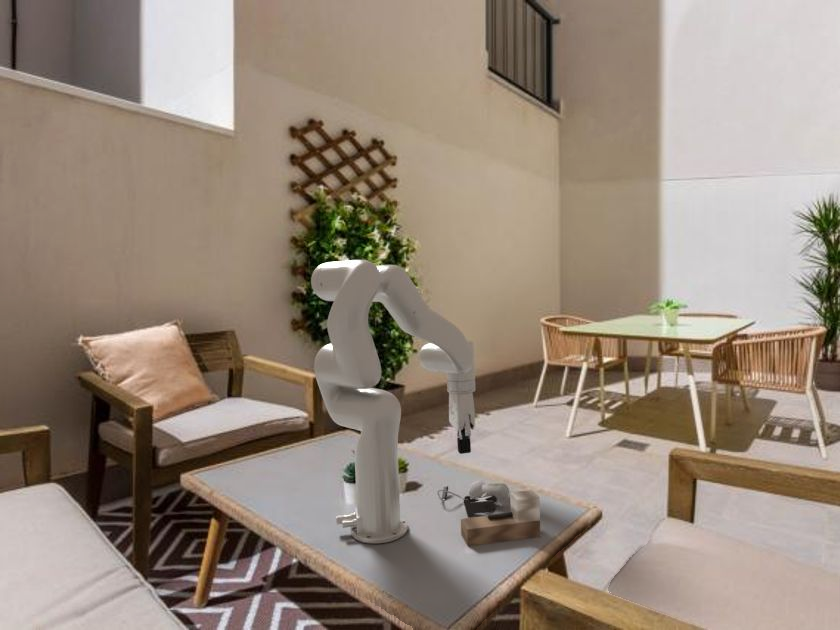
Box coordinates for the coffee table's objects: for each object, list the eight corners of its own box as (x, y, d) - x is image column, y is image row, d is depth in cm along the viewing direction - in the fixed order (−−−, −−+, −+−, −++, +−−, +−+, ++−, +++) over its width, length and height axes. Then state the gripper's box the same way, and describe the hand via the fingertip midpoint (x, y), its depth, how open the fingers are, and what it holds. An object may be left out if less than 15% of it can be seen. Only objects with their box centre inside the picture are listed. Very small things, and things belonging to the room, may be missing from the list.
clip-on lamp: (430, 519, 126) (495, 519, 116) (423, 494, 126) (488, 492, 116) (454, 497, 136) (515, 496, 126) (447, 474, 136) (508, 471, 125)
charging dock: (467, 546, 106) (466, 505, 106) (459, 531, 113) (458, 493, 112) (540, 536, 109) (539, 497, 109) (528, 522, 116) (527, 485, 115)
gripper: (441, 381, 144) (444, 445, 145) (454, 392, 129) (458, 463, 131) (466, 378, 145) (469, 442, 147) (483, 389, 131) (486, 460, 132)
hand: (464, 452), depth 139 cm, fingers closed
